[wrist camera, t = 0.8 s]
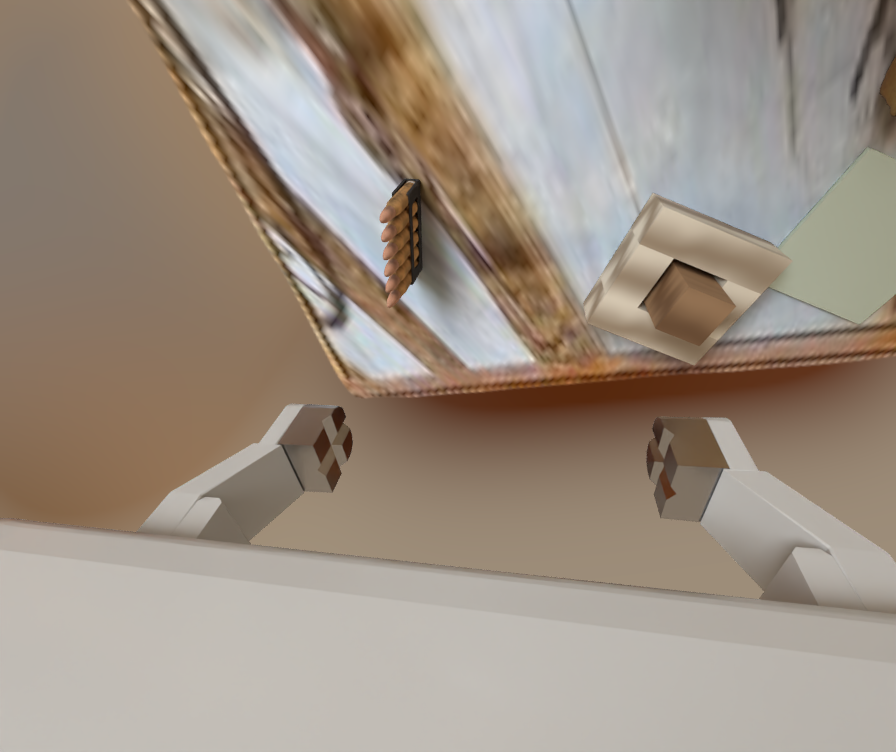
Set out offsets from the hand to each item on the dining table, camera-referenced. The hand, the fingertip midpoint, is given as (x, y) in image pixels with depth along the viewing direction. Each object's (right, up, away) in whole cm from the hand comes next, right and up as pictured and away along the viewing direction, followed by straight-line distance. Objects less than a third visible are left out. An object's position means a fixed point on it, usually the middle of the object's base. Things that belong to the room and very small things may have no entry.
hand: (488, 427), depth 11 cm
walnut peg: (+25, +13, +37) cm, 46 cm away
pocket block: (+25, +13, +37) cm, 46 cm away
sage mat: (+42, +15, +32) cm, 55 cm away
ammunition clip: (-5, +19, +39) cm, 44 cm away
